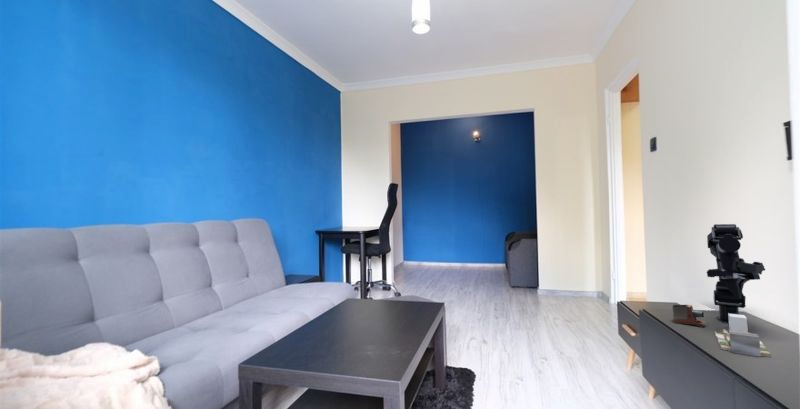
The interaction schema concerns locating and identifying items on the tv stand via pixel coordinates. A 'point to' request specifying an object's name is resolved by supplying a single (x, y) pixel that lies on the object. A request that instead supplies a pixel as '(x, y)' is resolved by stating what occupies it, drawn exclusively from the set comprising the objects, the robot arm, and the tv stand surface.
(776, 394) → the tv stand surface
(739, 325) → the white rectangular block
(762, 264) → the robot arm
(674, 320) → the electronic device
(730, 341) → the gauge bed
